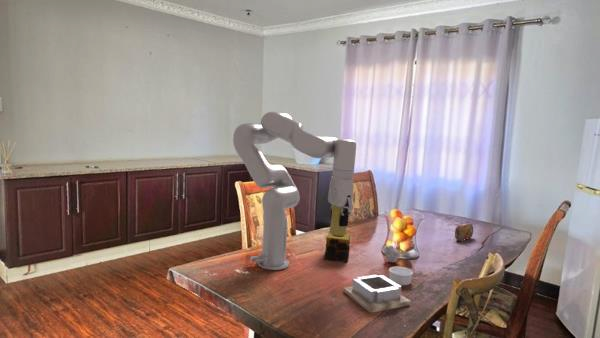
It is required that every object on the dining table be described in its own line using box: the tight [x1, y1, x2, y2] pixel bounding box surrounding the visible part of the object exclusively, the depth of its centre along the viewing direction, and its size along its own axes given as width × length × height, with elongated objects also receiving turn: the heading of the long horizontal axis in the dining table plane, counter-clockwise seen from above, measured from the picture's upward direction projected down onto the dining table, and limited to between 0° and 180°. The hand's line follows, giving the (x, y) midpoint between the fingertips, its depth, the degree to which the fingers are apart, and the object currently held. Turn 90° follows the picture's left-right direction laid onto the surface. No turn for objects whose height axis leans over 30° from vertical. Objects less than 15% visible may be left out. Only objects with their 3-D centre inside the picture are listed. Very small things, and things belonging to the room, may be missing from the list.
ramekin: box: [388, 266, 414, 286], centre depth 149 cm, size 9×9×4 cm
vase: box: [328, 205, 347, 236], centre depth 141 cm, size 6×6×14 cm
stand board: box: [342, 285, 411, 314], centre depth 134 cm, size 16×16×2 cm
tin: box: [454, 222, 474, 242], centre depth 210 cm, size 15×3×8 cm, turn 129°
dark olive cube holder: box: [323, 231, 351, 263], centre depth 171 cm, size 10×10×10 cm
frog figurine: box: [383, 245, 400, 263], centre depth 169 cm, size 6×7×7 cm
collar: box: [352, 274, 402, 304], centre depth 133 cm, size 12×12×4 cm
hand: (338, 223), depth 141 cm, fingers closed on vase, 5 cm apart
